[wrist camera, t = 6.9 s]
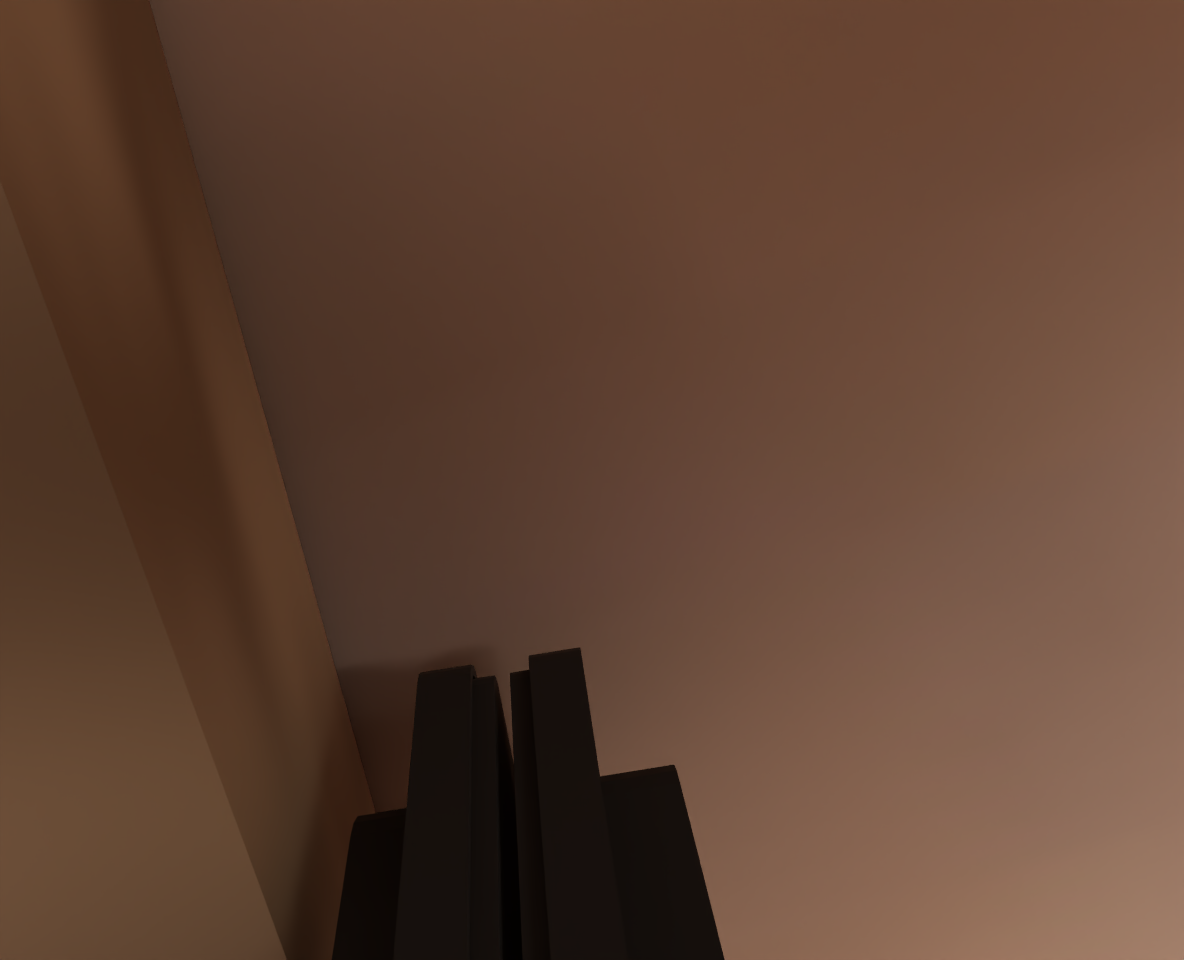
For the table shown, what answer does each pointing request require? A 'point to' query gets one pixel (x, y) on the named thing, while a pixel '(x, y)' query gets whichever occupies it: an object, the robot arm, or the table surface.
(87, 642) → the tongs arm
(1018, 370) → the table surface
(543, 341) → the table surface
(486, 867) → the robot arm
